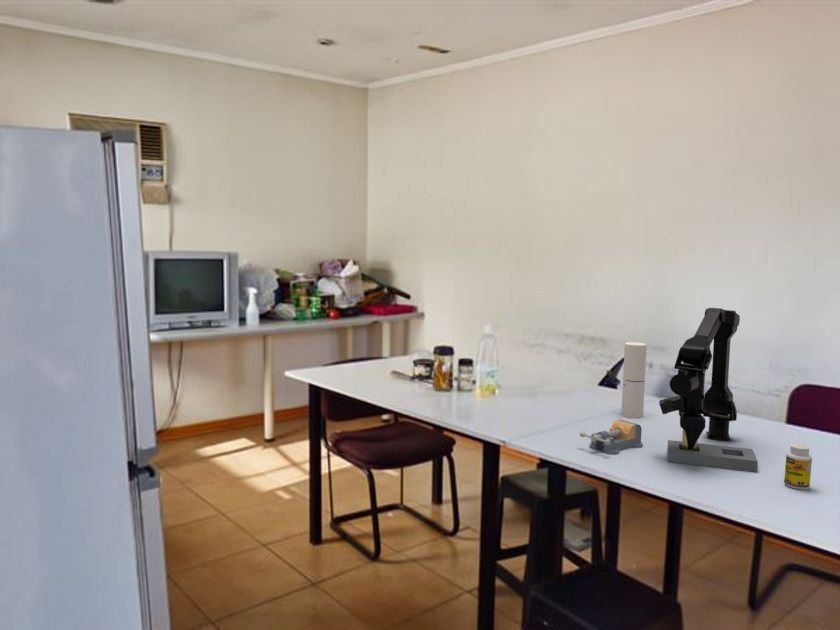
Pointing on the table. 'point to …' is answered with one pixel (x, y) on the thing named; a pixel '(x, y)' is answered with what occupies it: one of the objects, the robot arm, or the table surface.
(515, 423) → the table surface
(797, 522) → the table surface
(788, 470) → the supplement bottle
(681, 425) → the robot arm
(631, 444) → the vise
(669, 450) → the jig
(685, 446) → the cylinder
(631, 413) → the cylindrical container
